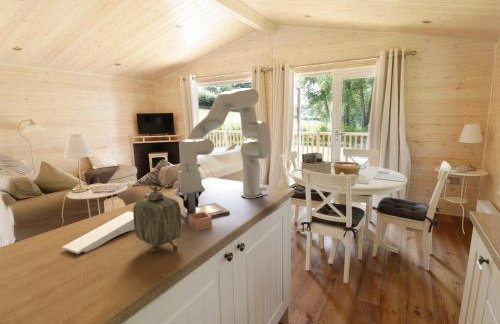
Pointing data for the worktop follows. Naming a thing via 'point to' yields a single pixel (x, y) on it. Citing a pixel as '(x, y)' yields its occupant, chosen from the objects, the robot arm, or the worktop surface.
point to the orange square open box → (200, 221)
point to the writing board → (207, 211)
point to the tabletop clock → (157, 218)
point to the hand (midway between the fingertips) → (191, 206)
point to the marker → (191, 203)
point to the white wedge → (102, 234)
